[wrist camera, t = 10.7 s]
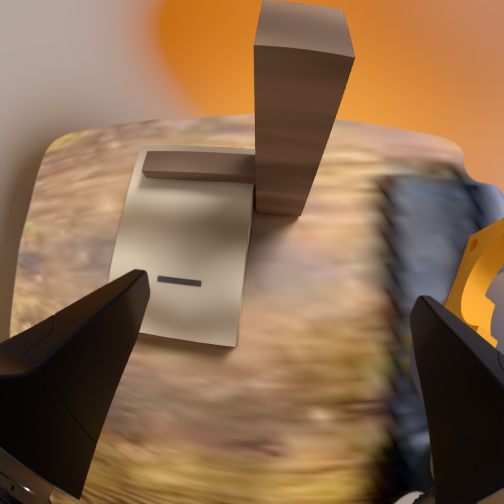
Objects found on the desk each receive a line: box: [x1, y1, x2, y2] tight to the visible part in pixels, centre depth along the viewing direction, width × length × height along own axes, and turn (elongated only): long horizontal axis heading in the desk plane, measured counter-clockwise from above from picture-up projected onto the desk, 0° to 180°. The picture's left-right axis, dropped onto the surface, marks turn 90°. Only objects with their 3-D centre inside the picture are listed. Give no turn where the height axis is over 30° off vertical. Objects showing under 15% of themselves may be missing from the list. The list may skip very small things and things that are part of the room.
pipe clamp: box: [444, 218, 504, 347], centre depth 19 cm, size 12×4×6 cm, turn 146°
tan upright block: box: [141, 0, 355, 216], centre depth 17 cm, size 4×12×16 cm, turn 84°
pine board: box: [108, 146, 255, 347], centre depth 23 cm, size 15×10×3 cm, turn 174°
